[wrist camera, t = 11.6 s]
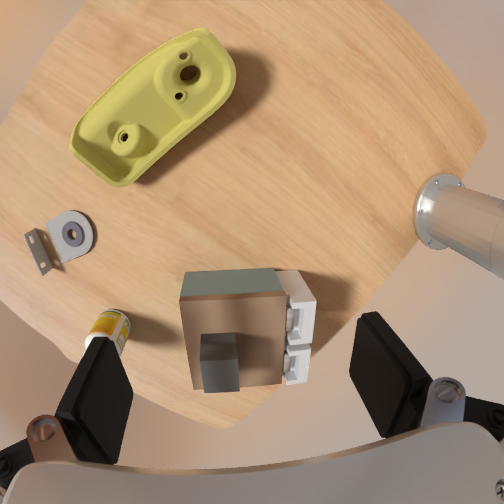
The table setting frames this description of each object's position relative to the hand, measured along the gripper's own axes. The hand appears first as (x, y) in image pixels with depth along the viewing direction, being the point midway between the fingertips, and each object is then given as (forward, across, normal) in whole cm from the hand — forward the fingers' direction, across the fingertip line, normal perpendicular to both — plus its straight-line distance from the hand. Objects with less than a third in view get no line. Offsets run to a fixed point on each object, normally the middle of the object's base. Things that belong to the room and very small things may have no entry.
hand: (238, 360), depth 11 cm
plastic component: (+29, +8, -13) cm, 33 cm away
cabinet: (+29, -1, +16) cm, 33 cm away
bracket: (+29, +24, +2) cm, 38 cm away
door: (+22, 0, +16) cm, 27 cm away
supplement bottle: (+29, +18, +16) cm, 38 cm away
